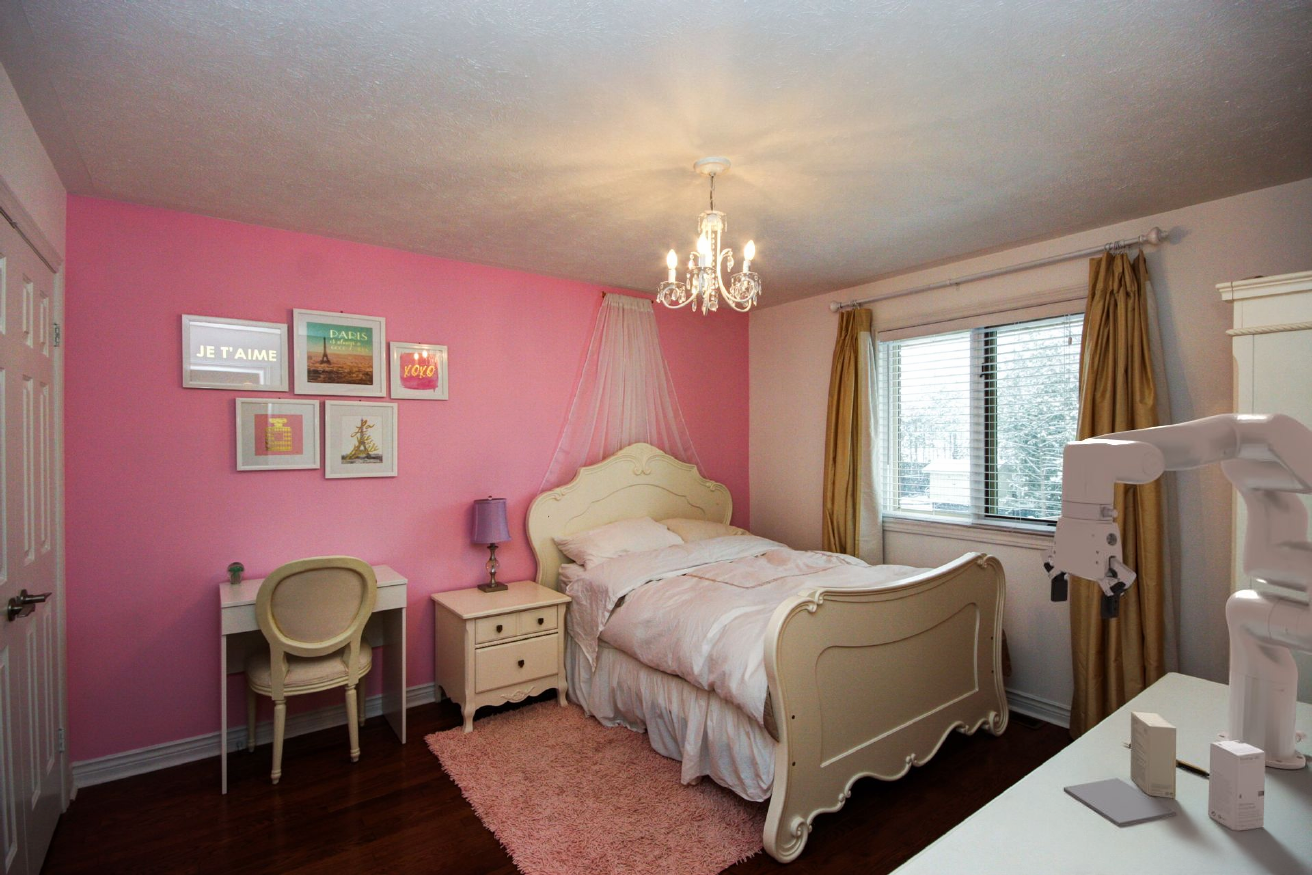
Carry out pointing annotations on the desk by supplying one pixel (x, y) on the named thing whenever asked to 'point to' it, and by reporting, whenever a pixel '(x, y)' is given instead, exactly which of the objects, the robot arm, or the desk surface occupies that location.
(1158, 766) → the skincare box
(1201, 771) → the fountain pen
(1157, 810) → the mat
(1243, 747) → the skincare box
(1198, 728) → the desk surface
